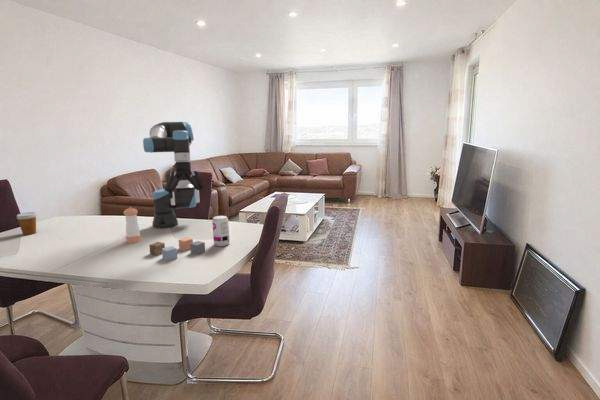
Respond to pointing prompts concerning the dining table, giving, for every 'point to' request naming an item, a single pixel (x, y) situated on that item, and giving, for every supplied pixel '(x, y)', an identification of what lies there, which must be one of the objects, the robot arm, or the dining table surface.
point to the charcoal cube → (197, 247)
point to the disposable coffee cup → (27, 222)
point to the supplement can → (220, 230)
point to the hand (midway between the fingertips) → (185, 203)
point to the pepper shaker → (132, 226)
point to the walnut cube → (156, 248)
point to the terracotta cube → (185, 243)
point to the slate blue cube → (169, 253)
